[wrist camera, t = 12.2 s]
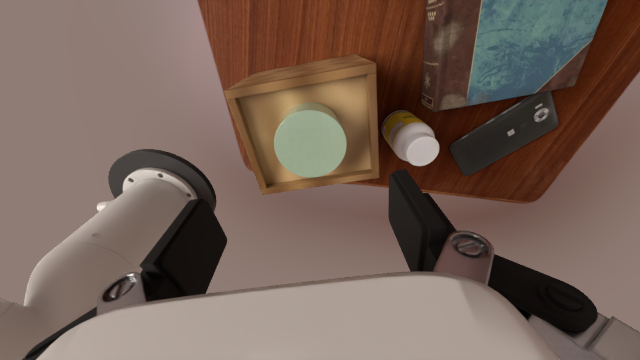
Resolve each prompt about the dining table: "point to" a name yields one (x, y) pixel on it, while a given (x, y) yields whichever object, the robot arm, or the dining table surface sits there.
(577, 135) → the dining table surface
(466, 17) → the book
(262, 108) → the open wooden box
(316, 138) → the disc
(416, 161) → the supplement bottle
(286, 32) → the dining table surface
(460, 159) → the smartphone
